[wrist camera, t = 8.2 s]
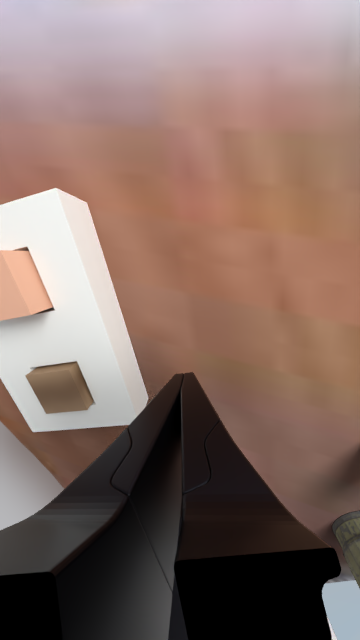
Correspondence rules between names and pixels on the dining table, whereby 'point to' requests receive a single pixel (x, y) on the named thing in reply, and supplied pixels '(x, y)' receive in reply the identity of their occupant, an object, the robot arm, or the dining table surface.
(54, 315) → the key panel
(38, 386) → the walnut key
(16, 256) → the terracotta key
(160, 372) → the dining table surface
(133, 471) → the robot arm
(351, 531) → the thermos
